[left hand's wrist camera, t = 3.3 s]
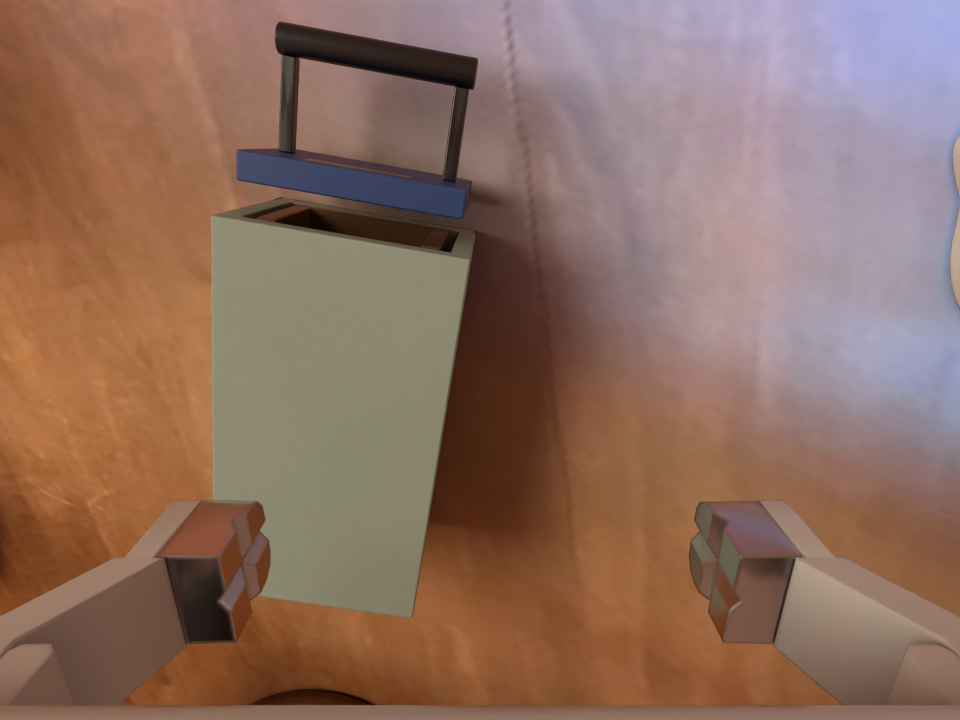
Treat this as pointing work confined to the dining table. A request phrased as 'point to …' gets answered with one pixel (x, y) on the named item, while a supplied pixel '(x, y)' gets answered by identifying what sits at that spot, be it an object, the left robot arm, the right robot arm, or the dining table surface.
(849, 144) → the dining table surface
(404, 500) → the sage green box
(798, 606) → the left robot arm
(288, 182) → the drawer
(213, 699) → the dining table surface
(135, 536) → the dining table surface
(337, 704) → the right robot arm
